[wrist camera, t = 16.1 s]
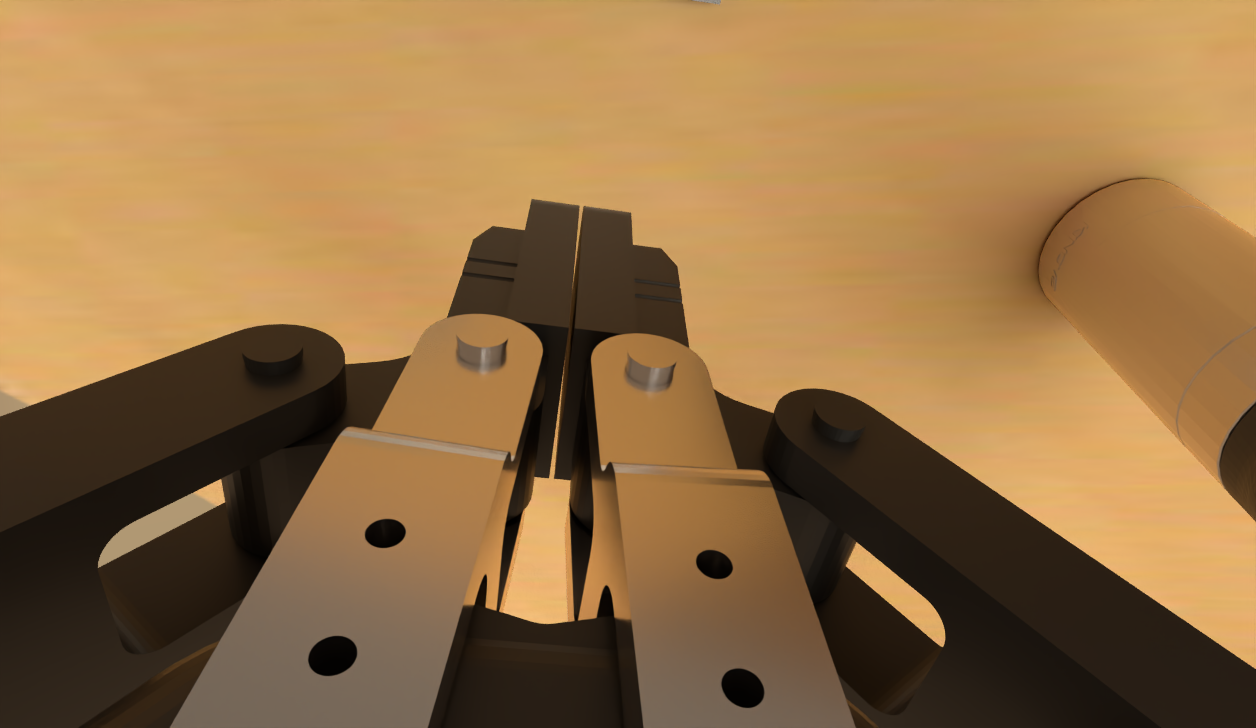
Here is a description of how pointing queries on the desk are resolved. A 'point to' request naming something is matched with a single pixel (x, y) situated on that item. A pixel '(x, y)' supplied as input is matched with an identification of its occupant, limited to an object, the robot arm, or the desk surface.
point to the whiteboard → (710, 1)
